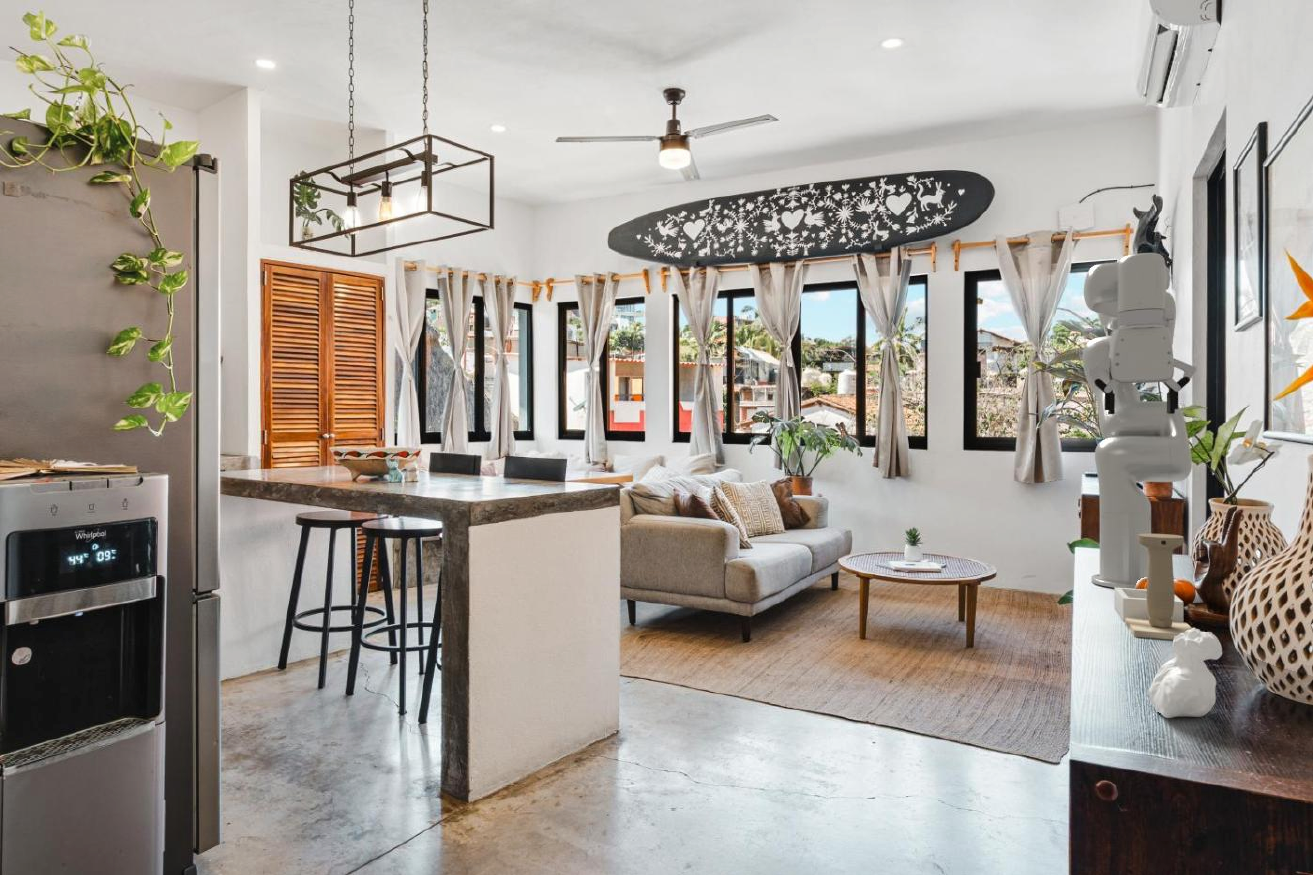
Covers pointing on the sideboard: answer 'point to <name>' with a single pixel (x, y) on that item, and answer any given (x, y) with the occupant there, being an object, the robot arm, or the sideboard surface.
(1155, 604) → the handle
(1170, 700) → the white tied sack
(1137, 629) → the oak board
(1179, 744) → the sideboard surface
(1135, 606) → the white open box
